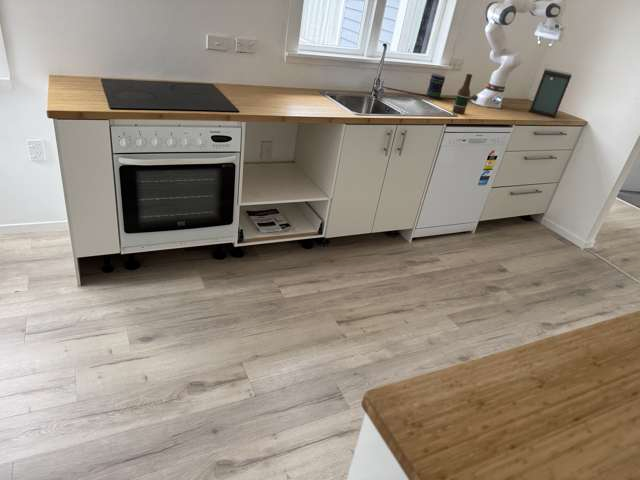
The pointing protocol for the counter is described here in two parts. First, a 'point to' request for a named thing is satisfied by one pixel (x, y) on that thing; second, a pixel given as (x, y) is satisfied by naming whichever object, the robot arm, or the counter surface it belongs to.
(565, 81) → the glass door
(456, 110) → the beer bottle
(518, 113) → the counter surface
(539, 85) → the display cabinet
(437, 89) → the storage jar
